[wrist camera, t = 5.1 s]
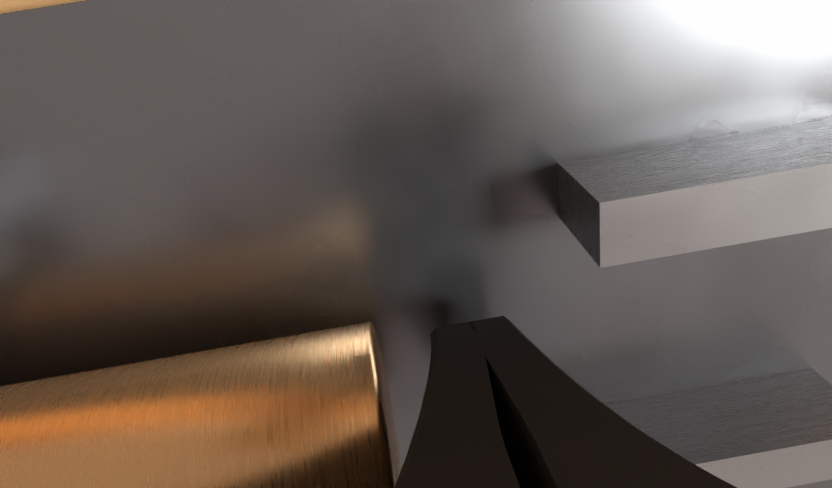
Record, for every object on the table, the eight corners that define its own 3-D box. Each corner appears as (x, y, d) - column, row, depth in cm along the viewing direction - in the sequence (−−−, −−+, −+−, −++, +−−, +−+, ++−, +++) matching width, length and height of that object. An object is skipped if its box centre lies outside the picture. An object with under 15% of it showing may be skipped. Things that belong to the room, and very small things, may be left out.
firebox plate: (822, 480, 15) (911, 578, 12) (-293, 686, 14) (-424, 831, 12) (952, -137, 9) (1162, -173, 7) (-898, 157, 8) (-1383, 231, 6)
